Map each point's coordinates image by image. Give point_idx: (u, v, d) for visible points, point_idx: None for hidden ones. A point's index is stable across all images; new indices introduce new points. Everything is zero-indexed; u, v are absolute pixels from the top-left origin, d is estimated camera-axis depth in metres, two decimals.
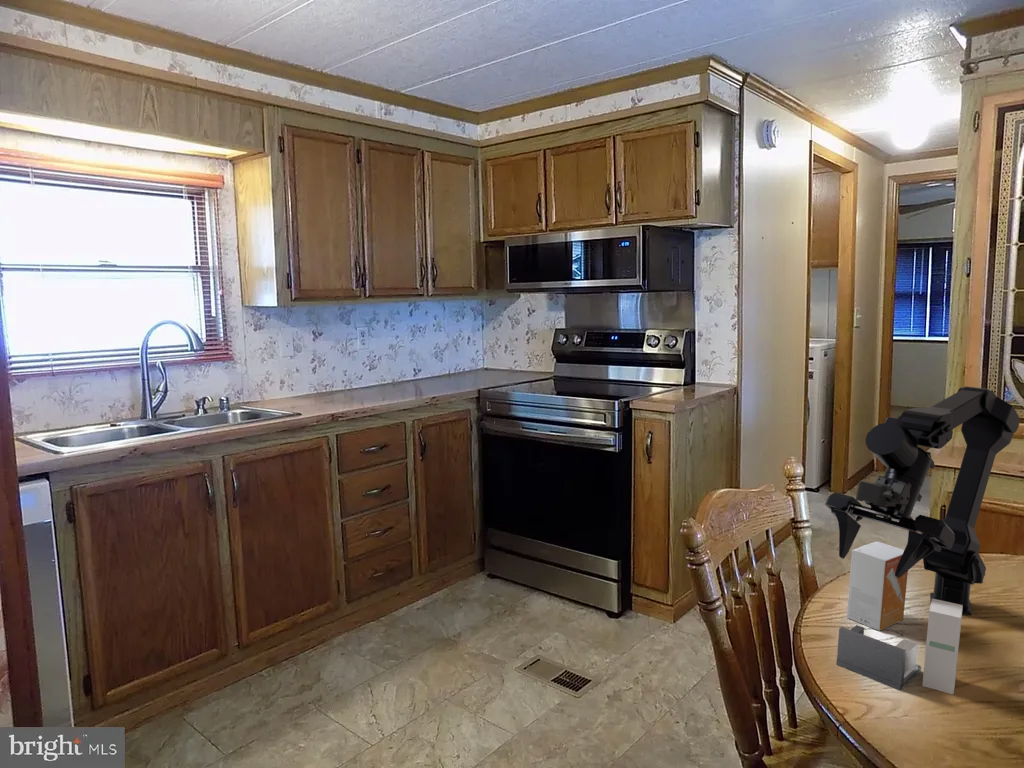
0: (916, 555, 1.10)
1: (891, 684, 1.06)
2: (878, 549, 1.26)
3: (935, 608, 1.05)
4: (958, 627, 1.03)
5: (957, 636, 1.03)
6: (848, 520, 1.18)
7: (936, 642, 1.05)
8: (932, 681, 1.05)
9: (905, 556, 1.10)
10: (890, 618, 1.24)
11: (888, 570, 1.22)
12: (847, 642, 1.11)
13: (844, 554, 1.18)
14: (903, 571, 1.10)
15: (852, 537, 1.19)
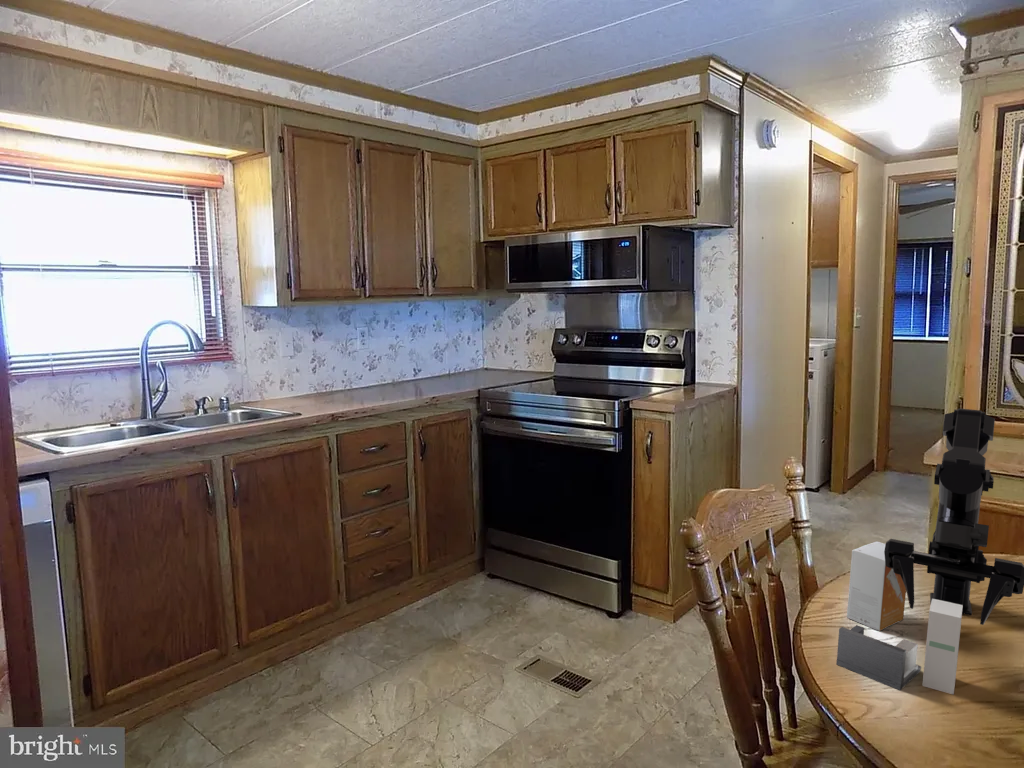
0: (993, 600, 1.07)
1: (891, 684, 1.06)
2: (878, 549, 1.26)
3: (935, 608, 1.05)
4: (958, 627, 1.03)
5: (957, 636, 1.03)
6: (913, 567, 1.13)
7: (936, 642, 1.05)
8: (932, 681, 1.05)
9: (989, 601, 1.06)
10: (890, 618, 1.24)
11: (888, 571, 1.22)
12: (847, 642, 1.11)
13: (913, 603, 1.11)
14: (986, 617, 1.06)
15: None
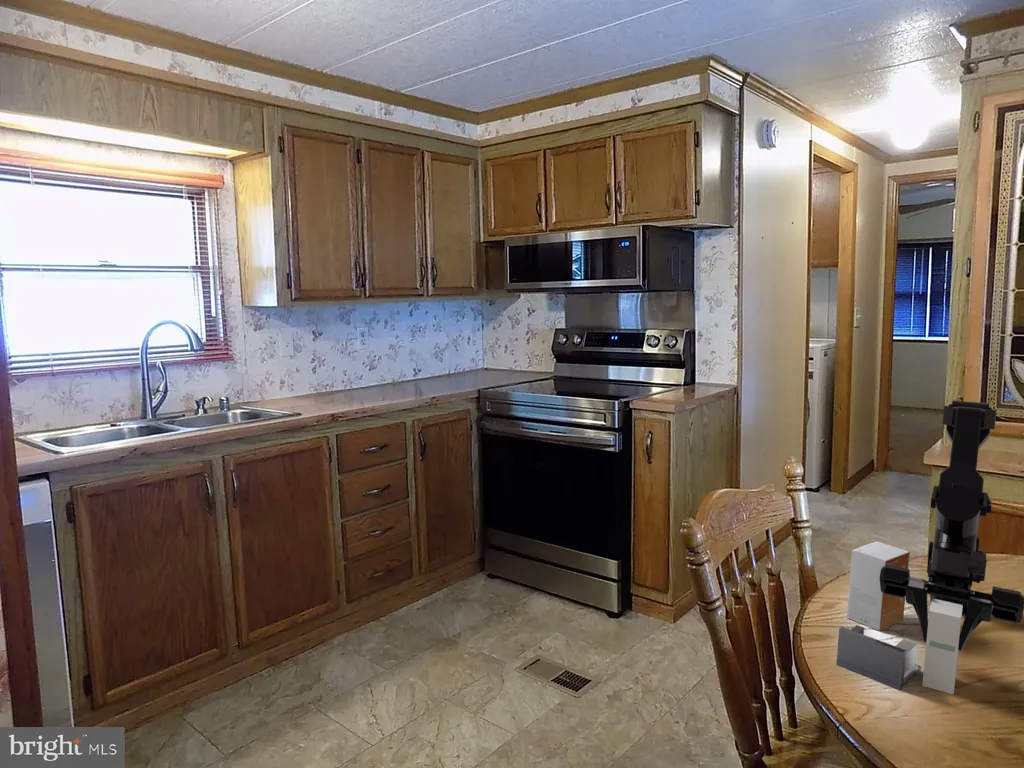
0: (972, 626, 1.06)
1: (891, 684, 1.06)
2: (878, 549, 1.26)
3: (935, 607, 1.05)
4: (958, 627, 1.03)
5: (957, 636, 1.03)
6: None
7: (936, 642, 1.05)
8: (932, 681, 1.05)
9: (966, 627, 1.04)
10: (890, 618, 1.24)
11: None
12: (847, 642, 1.11)
13: None
14: (964, 643, 1.04)
15: None
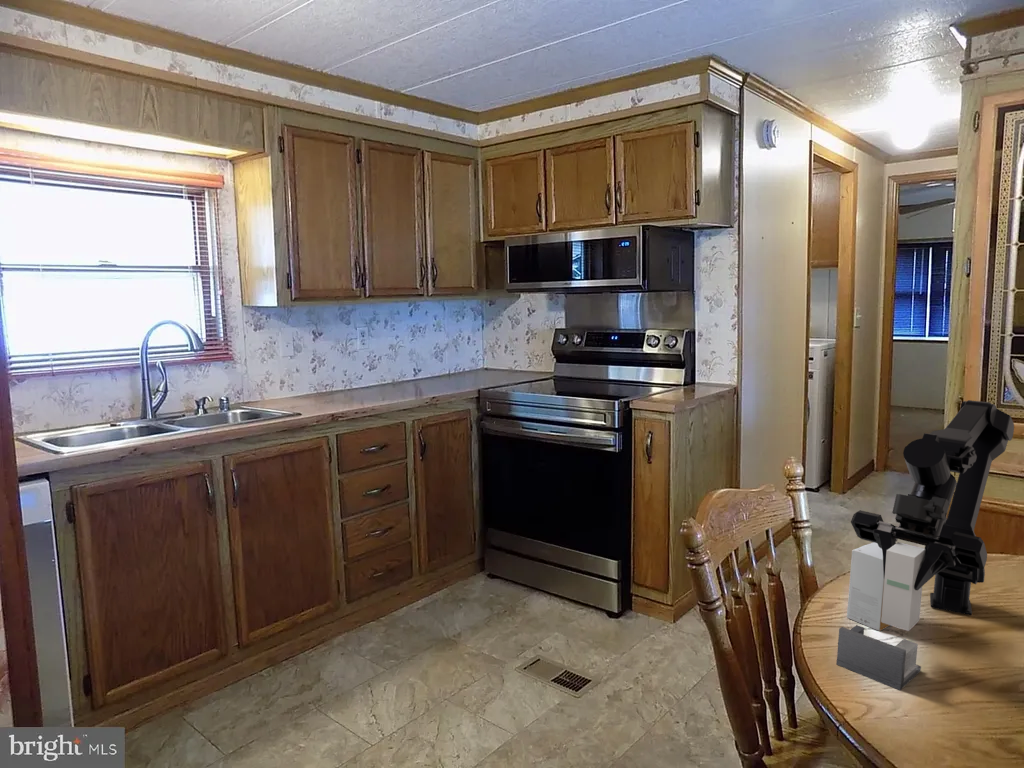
0: (933, 568, 1.10)
1: (891, 684, 1.06)
2: (878, 549, 1.26)
3: (894, 549, 1.11)
4: (912, 566, 1.08)
5: (911, 575, 1.08)
6: (892, 541, 1.14)
7: (893, 580, 1.10)
8: (889, 618, 1.11)
9: (924, 568, 1.09)
10: None
11: None
12: (847, 642, 1.11)
13: None
14: (921, 583, 1.09)
15: None
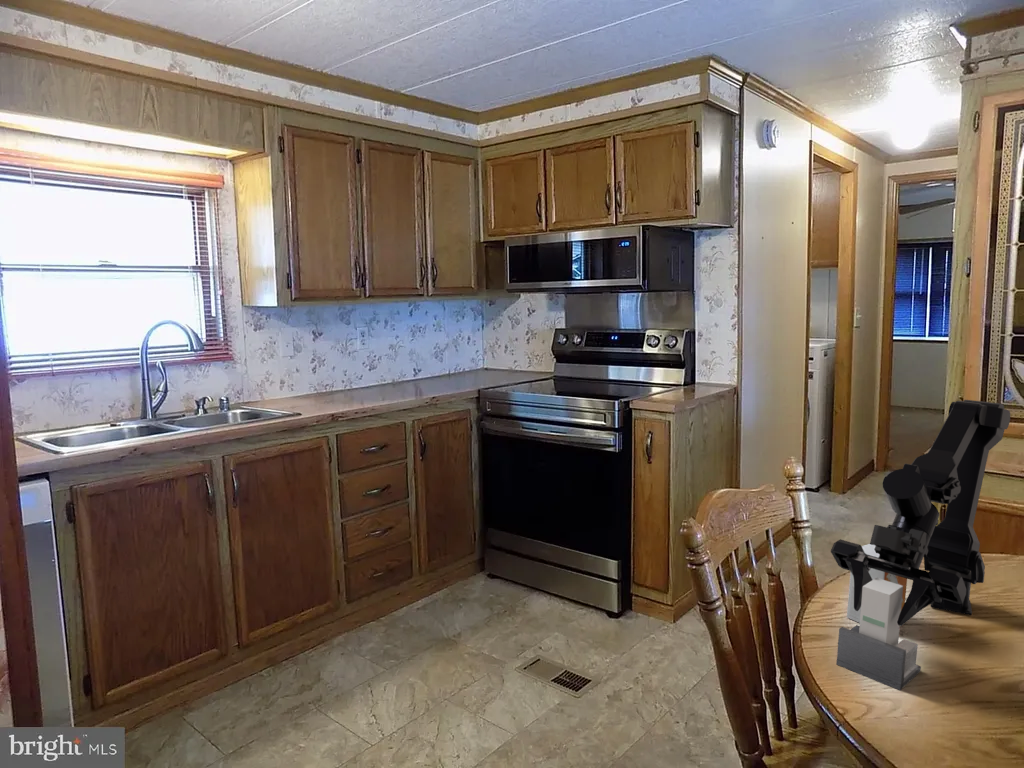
0: (918, 604, 1.08)
1: (891, 684, 1.06)
2: None
3: (871, 585, 1.10)
4: (887, 604, 1.07)
5: (886, 612, 1.07)
6: (864, 571, 1.13)
7: (868, 617, 1.09)
8: None
9: (908, 603, 1.07)
10: None
11: None
12: (847, 642, 1.11)
13: (858, 606, 1.12)
14: (905, 619, 1.07)
15: None
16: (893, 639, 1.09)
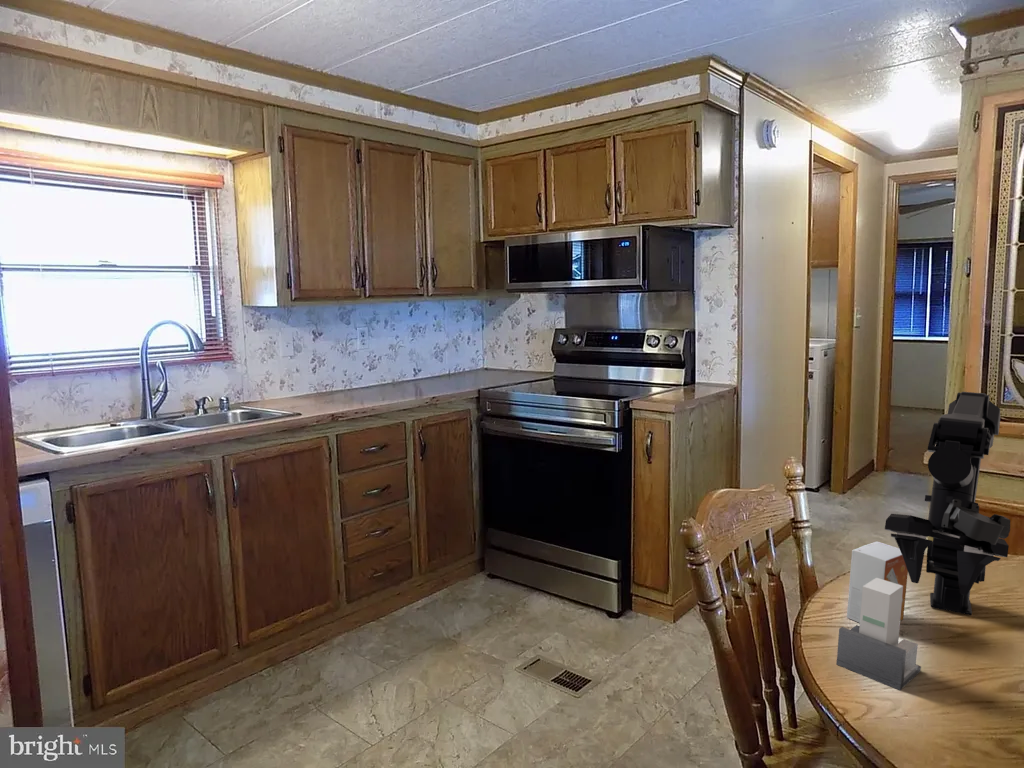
0: None
1: (891, 684, 1.06)
2: (878, 549, 1.26)
3: (871, 585, 1.10)
4: (887, 604, 1.07)
5: (886, 612, 1.07)
6: None
7: (868, 617, 1.09)
8: None
9: (975, 576, 1.14)
10: None
11: (888, 571, 1.22)
12: (847, 642, 1.11)
13: None
14: None
15: None
16: (893, 639, 1.09)
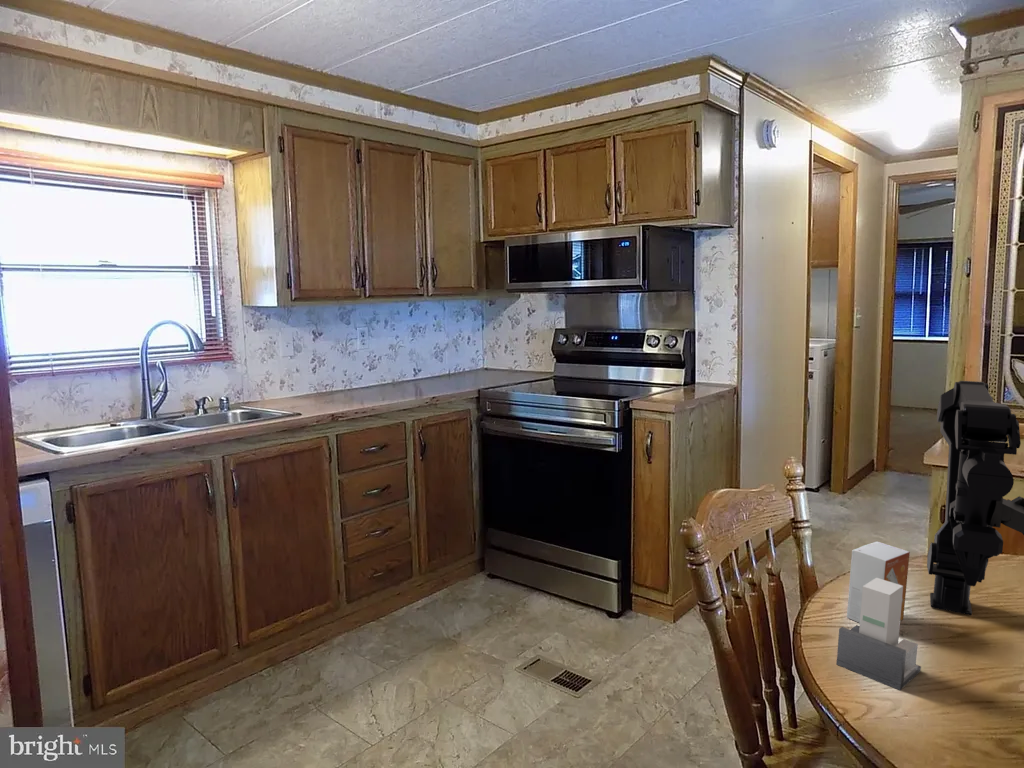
0: None
1: (891, 684, 1.06)
2: (878, 549, 1.26)
3: (871, 585, 1.10)
4: (887, 604, 1.07)
5: (886, 612, 1.07)
6: None
7: (868, 617, 1.09)
8: None
9: None
10: None
11: (888, 571, 1.22)
12: (847, 642, 1.11)
13: None
14: None
15: None
16: (893, 639, 1.09)
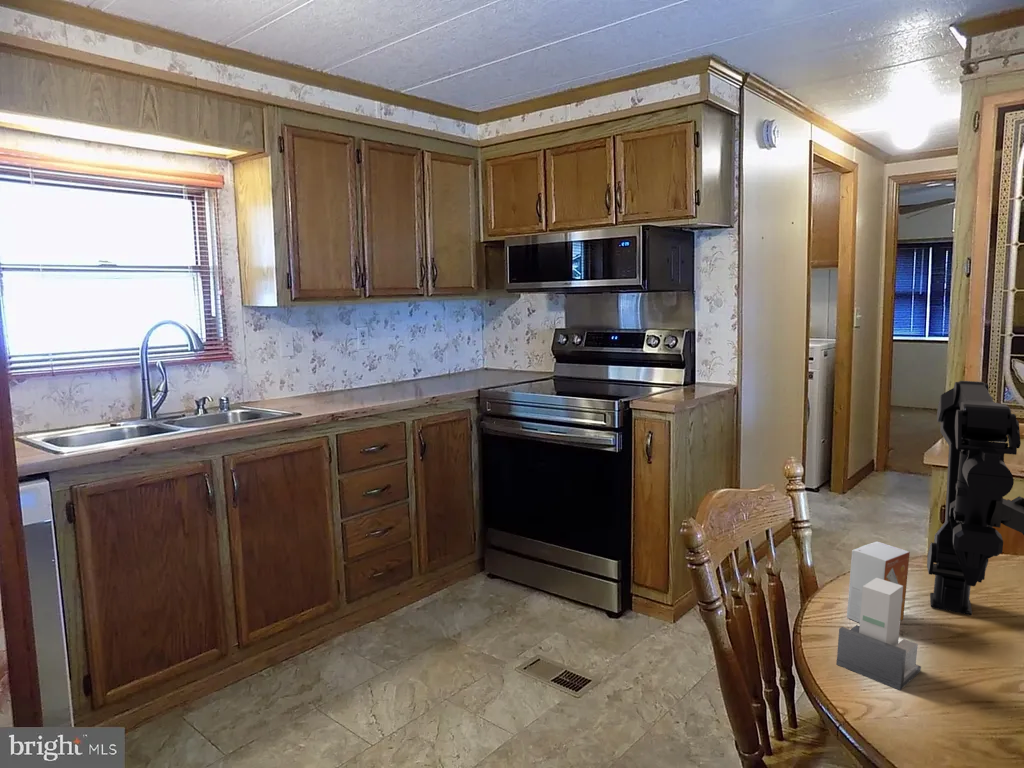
0: None
1: (891, 684, 1.06)
2: (878, 549, 1.26)
3: (871, 585, 1.10)
4: (887, 604, 1.07)
5: (886, 612, 1.07)
6: None
7: (868, 617, 1.09)
8: None
9: None
10: None
11: (888, 571, 1.22)
12: (847, 642, 1.11)
13: None
14: None
15: None
16: (893, 639, 1.09)
